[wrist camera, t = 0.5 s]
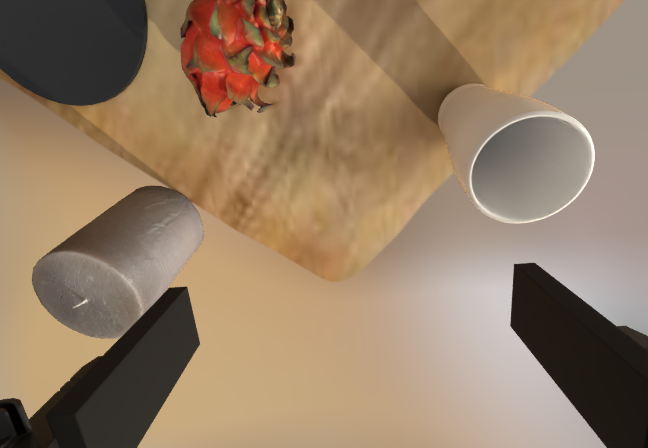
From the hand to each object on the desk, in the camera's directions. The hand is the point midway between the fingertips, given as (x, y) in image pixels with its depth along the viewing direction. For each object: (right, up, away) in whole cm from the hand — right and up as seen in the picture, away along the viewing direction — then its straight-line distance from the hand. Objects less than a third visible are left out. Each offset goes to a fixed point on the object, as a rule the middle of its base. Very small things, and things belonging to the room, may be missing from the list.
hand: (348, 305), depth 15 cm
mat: (-26, +23, +18) cm, 39 cm away
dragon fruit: (-8, +19, +18) cm, 27 cm away
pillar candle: (-20, +4, +28) cm, 35 cm away
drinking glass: (+12, +14, +19) cm, 26 cm away
